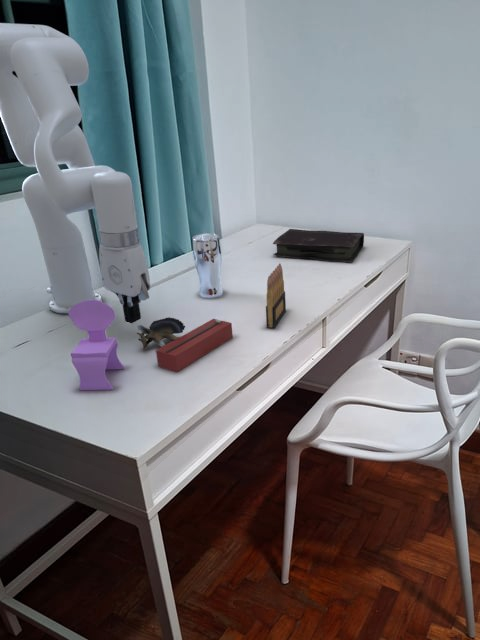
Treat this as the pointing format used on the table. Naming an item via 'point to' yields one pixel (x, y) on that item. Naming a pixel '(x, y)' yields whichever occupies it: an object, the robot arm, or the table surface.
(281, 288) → the ammunition clip
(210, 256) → the beer glass
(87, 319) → the toy chair
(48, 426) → the table surface
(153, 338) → the eagle figurine
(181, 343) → the pencil case
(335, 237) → the diary
